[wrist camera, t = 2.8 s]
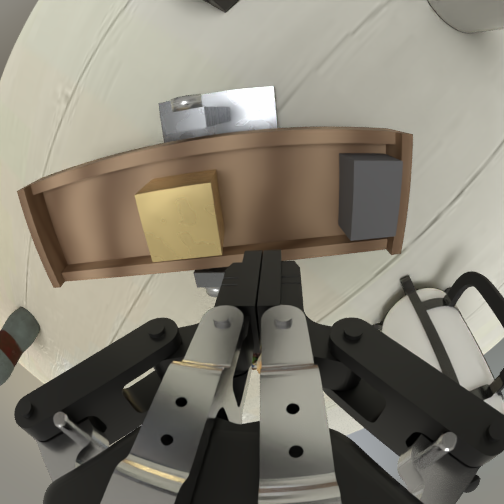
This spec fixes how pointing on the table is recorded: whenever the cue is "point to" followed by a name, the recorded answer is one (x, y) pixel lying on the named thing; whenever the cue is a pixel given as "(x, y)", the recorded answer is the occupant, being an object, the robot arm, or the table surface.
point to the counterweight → (369, 195)
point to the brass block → (182, 216)
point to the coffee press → (448, 336)
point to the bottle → (16, 340)
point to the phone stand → (222, 4)
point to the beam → (231, 196)
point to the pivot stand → (217, 132)
